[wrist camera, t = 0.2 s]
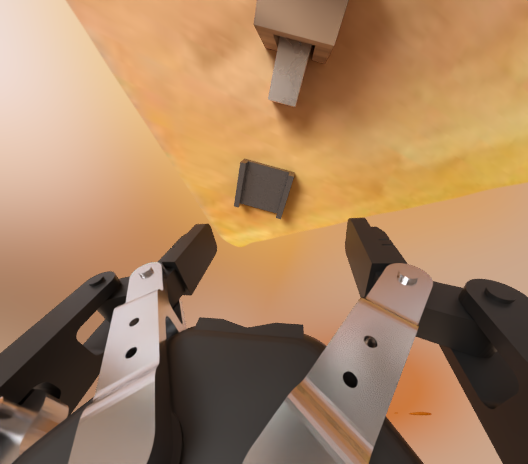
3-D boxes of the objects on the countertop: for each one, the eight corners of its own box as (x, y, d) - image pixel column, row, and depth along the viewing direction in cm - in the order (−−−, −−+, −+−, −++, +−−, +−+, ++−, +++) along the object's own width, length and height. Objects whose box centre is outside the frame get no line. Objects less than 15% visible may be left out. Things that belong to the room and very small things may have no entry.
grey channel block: (244, 158, 36) (240, 162, 34) (294, 172, 36) (294, 176, 33) (237, 200, 41) (233, 206, 38) (281, 212, 41) (280, 219, 38)
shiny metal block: (292, 2, 25) (290, -21, 20) (321, 9, 25) (325, -12, 20) (272, 101, 31) (267, 99, 27) (295, 107, 31) (295, 106, 26)
